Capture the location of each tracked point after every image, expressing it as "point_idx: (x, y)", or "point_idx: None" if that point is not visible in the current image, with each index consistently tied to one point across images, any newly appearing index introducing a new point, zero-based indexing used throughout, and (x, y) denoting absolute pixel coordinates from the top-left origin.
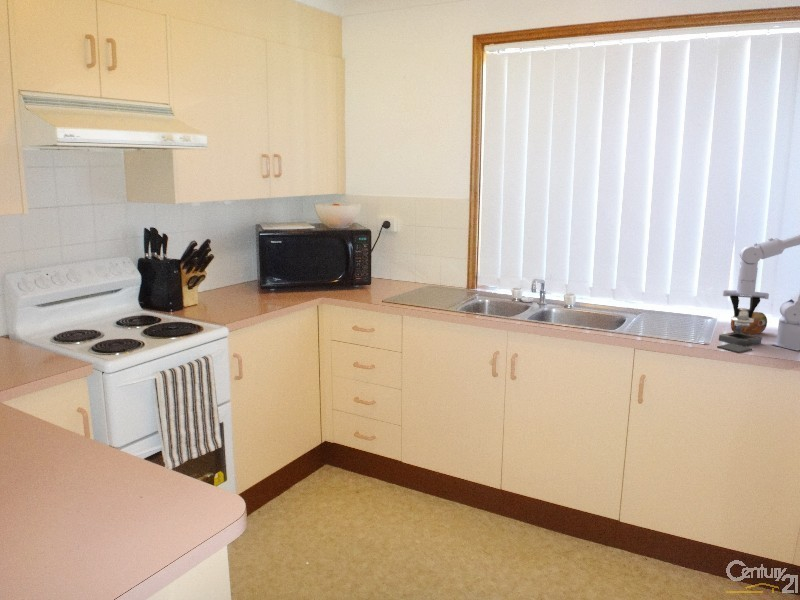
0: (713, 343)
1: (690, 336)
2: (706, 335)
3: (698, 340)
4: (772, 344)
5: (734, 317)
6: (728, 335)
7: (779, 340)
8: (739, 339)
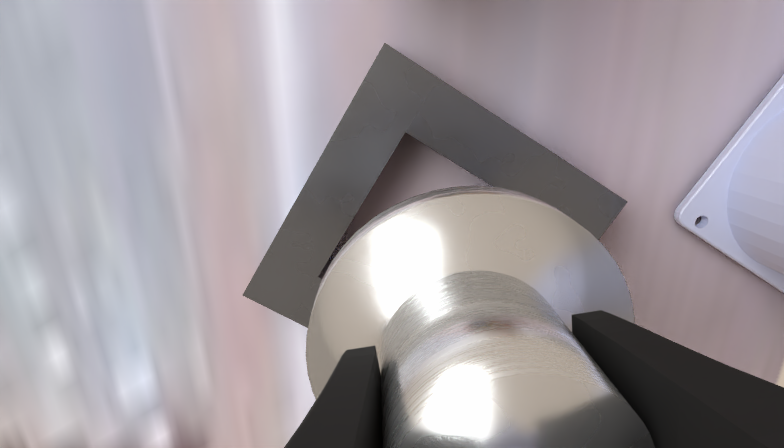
0: (235, 398)
1: (7, 259)
2: (121, 134)
3: (110, 365)
4: (686, 228)
5: (350, 334)
6: (324, 265)
7: (769, 253)
8: None
